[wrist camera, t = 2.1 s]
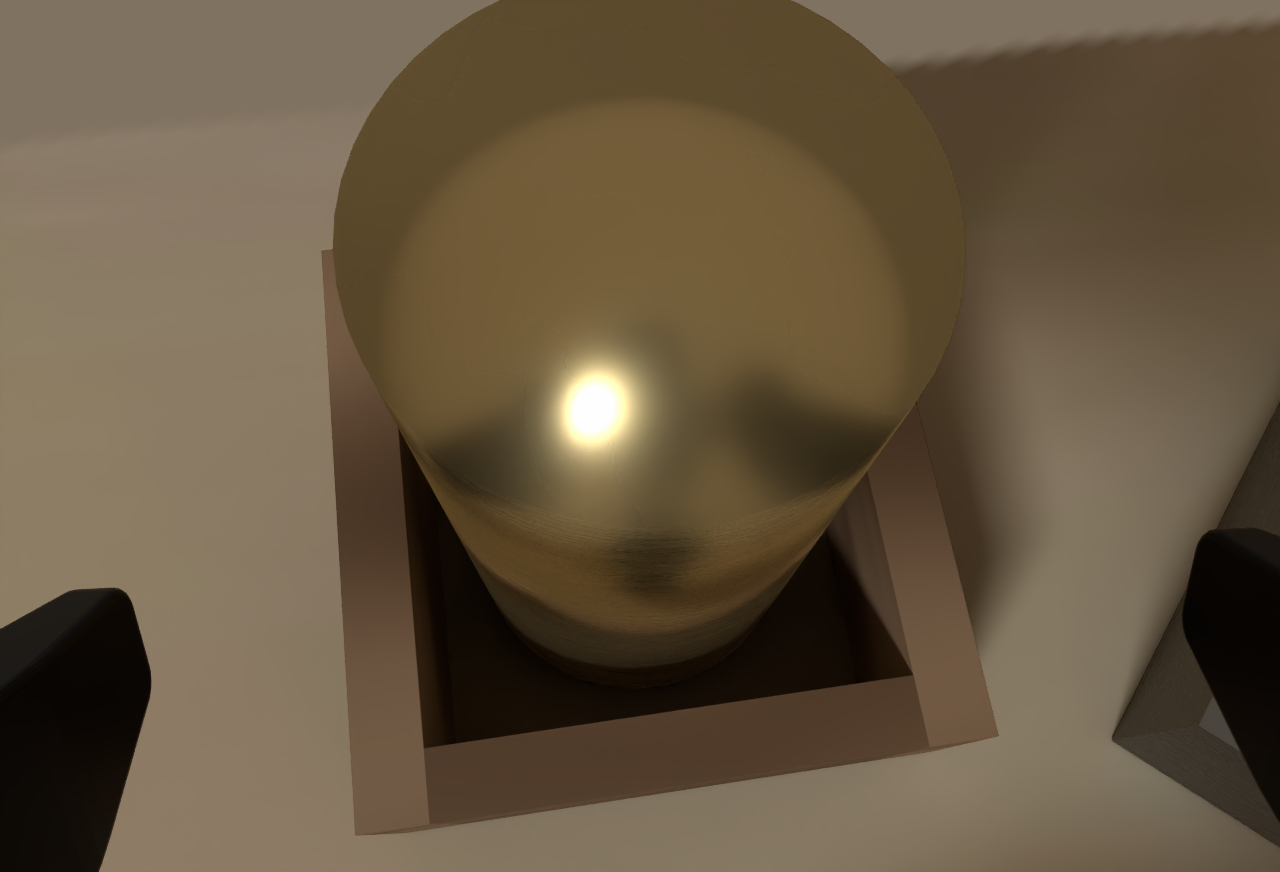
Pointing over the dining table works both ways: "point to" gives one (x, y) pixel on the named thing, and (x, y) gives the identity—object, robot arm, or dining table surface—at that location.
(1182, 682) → the tray
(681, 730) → the walnut socket
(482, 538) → the tan cylinder
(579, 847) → the dining table surface
